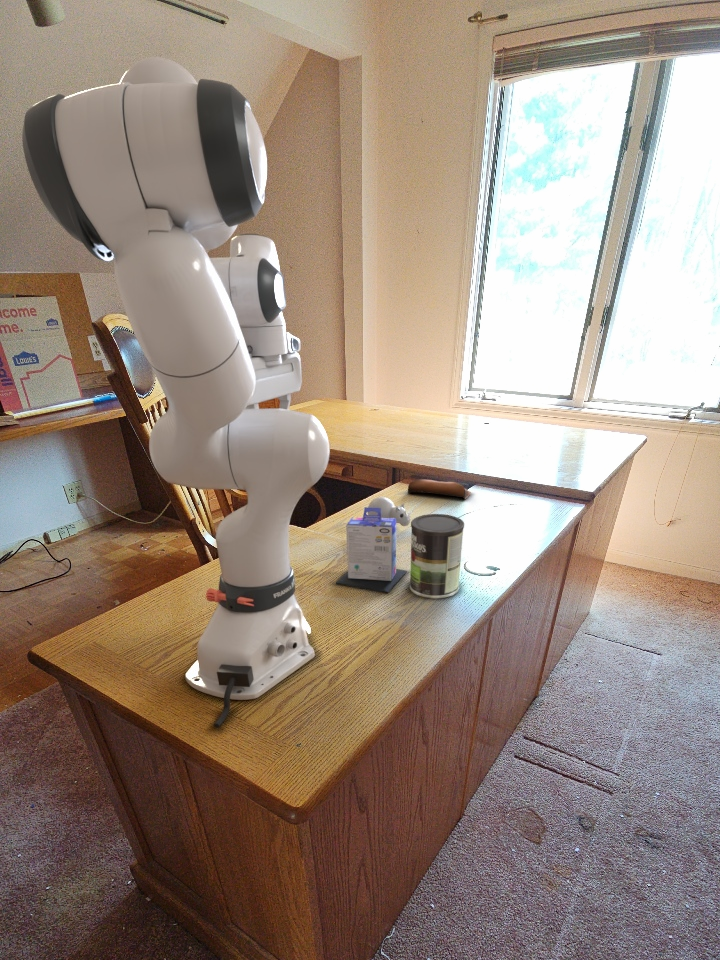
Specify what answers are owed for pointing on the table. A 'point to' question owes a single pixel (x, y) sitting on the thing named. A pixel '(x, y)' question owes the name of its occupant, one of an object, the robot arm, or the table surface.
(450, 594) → the coffee can
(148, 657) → the table surface
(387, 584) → the coaster
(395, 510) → the chubby cartoon animal
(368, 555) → the ink cartridge box
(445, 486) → the sunglasses case
